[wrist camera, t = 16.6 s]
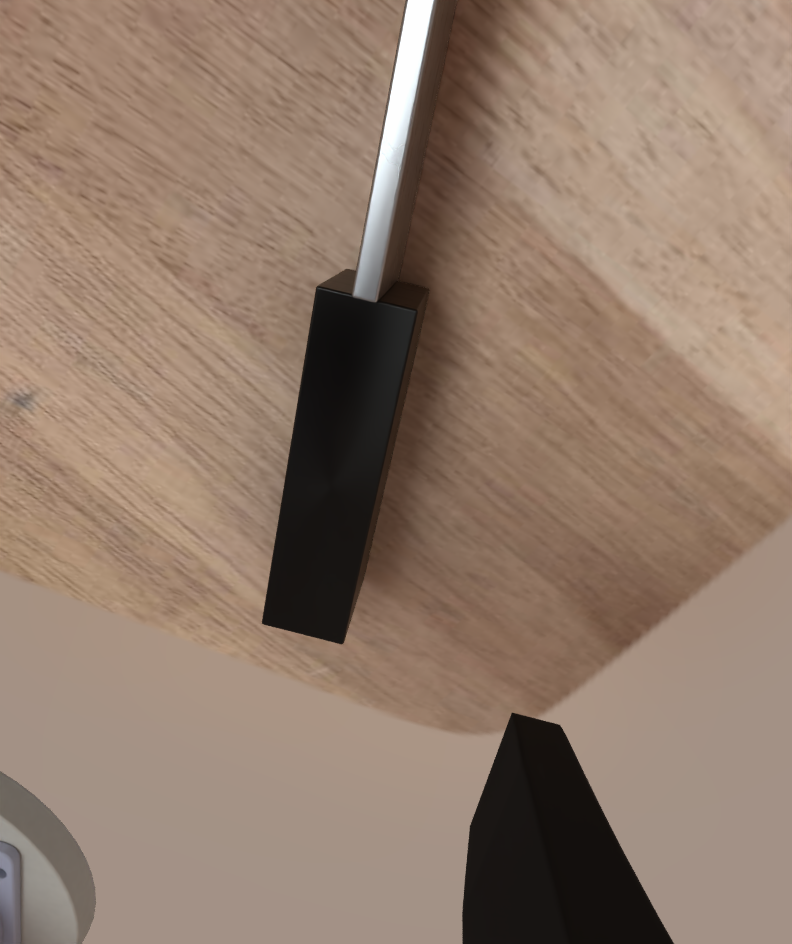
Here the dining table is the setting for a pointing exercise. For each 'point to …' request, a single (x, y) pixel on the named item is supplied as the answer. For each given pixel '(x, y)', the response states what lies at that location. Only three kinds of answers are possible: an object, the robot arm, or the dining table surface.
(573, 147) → the dining table surface
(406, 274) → the dining table surface
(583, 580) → the dining table surface
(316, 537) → the cake knife
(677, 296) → the dining table surface
